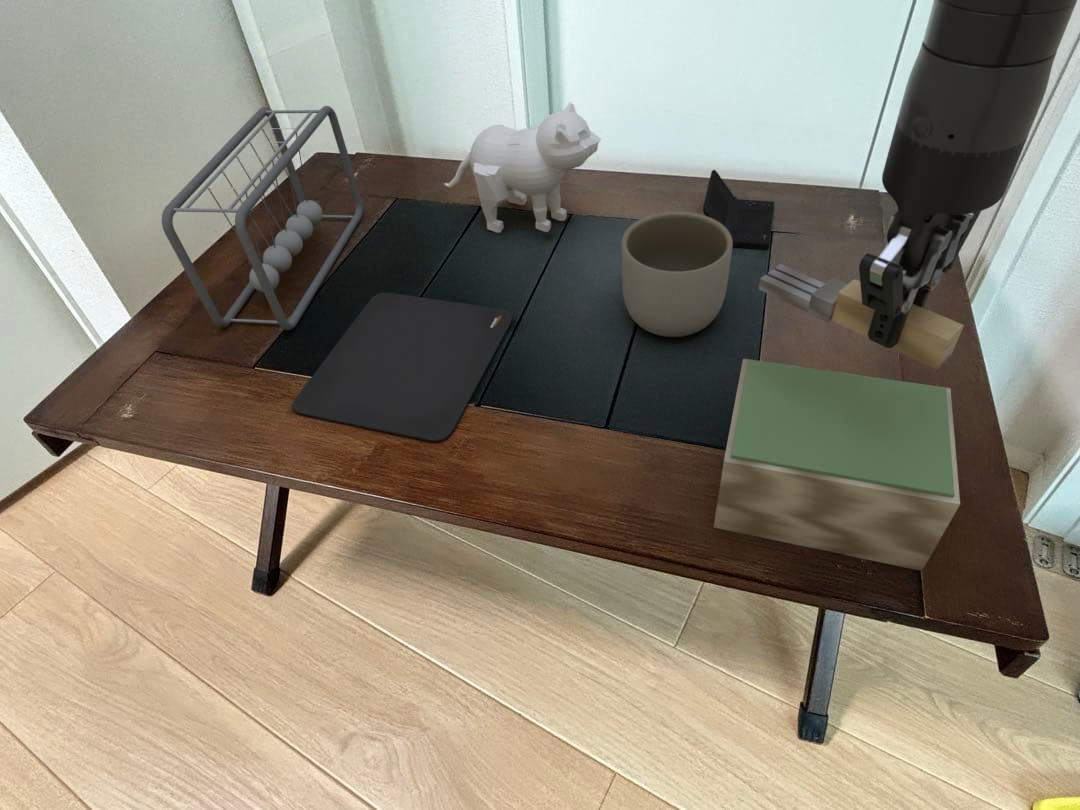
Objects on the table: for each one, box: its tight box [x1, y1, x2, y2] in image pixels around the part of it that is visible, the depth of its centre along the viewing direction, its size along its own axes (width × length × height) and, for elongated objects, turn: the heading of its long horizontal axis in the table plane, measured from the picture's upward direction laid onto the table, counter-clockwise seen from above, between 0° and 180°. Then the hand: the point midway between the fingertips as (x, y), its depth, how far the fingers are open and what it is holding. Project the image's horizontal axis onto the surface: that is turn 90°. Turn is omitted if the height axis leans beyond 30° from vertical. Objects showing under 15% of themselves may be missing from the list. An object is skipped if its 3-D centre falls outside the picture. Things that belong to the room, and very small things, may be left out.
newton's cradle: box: [161, 105, 364, 331], centre depth 97 cm, size 30×10×18 cm, turn 170°
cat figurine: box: [443, 101, 602, 234], centre depth 101 cm, size 25×10×17 cm, turn 71°
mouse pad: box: [291, 292, 514, 443], centre depth 87 cm, size 23×20×1 cm
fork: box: [758, 263, 965, 370], centre depth 59 cm, size 16×3×3 cm, turn 42°
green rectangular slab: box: [731, 359, 955, 498], centre depth 62 cm, size 17×12×1 cm
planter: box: [620, 210, 734, 338], centre depth 85 cm, size 12×12×11 cm
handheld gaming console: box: [702, 169, 775, 250], centre depth 99 cm, size 12×7×10 cm
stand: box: [713, 358, 961, 572], centre depth 66 cm, size 18×13×10 cm
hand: (892, 332), depth 57 cm, fingers closed on fork, 2 cm apart
